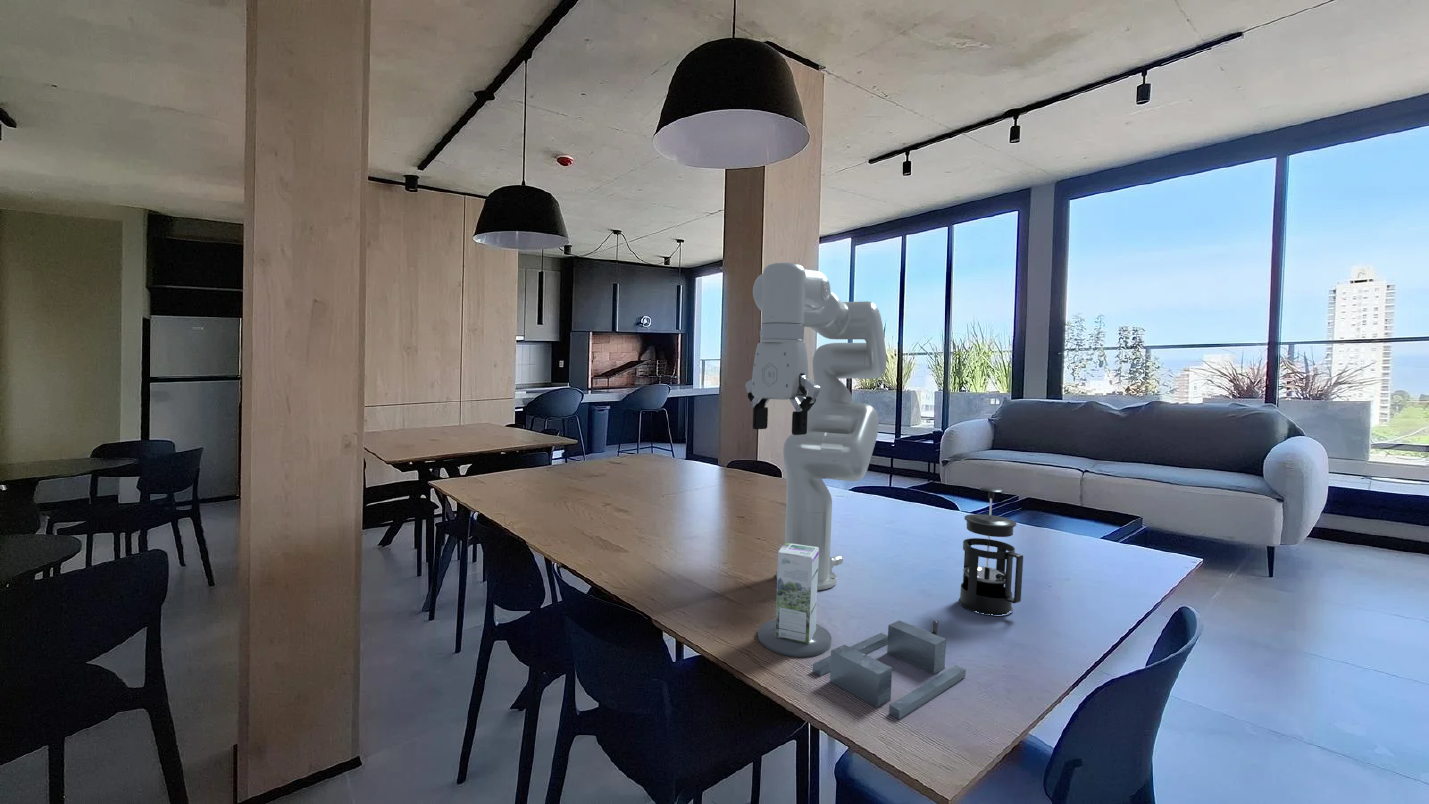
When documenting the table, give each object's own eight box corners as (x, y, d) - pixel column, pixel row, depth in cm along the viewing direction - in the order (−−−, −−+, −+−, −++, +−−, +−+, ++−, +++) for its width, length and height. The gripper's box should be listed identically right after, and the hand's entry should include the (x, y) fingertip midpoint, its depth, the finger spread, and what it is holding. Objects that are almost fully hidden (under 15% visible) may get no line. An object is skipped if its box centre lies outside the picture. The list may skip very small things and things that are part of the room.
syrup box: (816, 630, 97) (819, 545, 96) (809, 646, 91) (812, 555, 90) (783, 624, 99) (786, 540, 98) (774, 638, 93) (777, 550, 92)
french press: (945, 600, 113) (951, 484, 112) (975, 592, 118) (981, 481, 117) (1002, 624, 103) (1009, 497, 102) (1031, 613, 108) (1039, 492, 107)
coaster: (792, 617, 104) (792, 612, 104) (846, 642, 94) (846, 637, 94) (742, 635, 96) (743, 630, 96) (796, 665, 87) (796, 659, 87)
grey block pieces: (896, 632, 98) (897, 605, 98) (979, 668, 87) (981, 637, 87) (812, 671, 85) (813, 640, 85) (899, 719, 74) (900, 684, 73)
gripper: (733, 335, 106) (731, 428, 107) (804, 332, 93) (800, 438, 94) (763, 337, 111) (760, 426, 112) (834, 335, 97) (830, 435, 98)
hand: (778, 431), depth 103 cm, fingers open, 9 cm apart
